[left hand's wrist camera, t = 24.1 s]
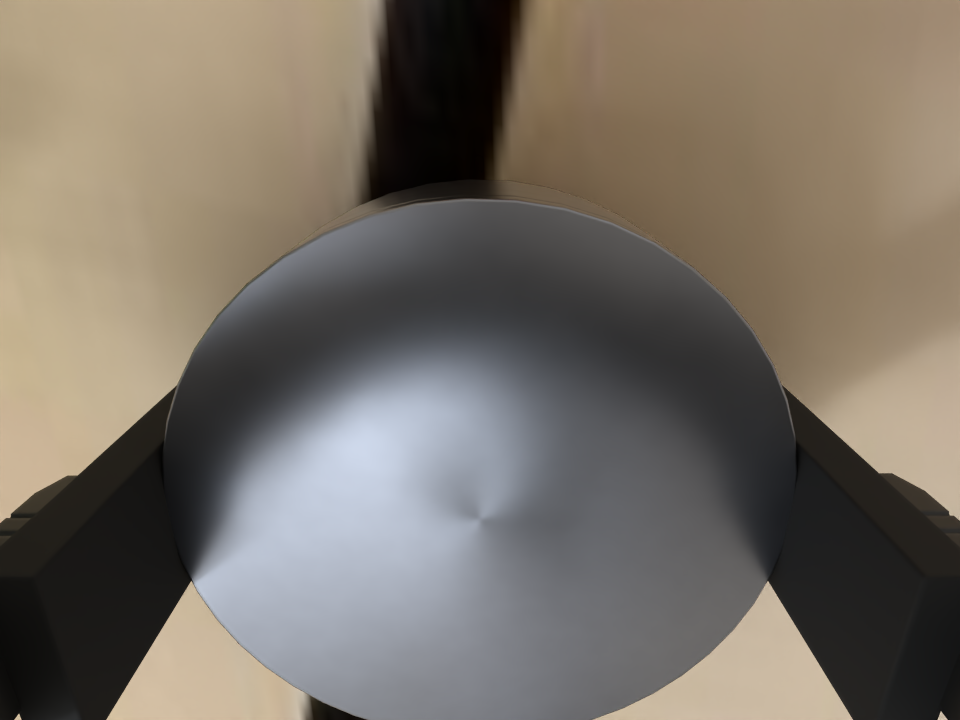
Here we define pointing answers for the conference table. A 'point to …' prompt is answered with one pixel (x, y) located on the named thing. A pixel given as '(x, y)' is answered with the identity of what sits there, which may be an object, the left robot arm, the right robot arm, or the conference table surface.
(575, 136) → the conference table surface
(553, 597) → the lid
